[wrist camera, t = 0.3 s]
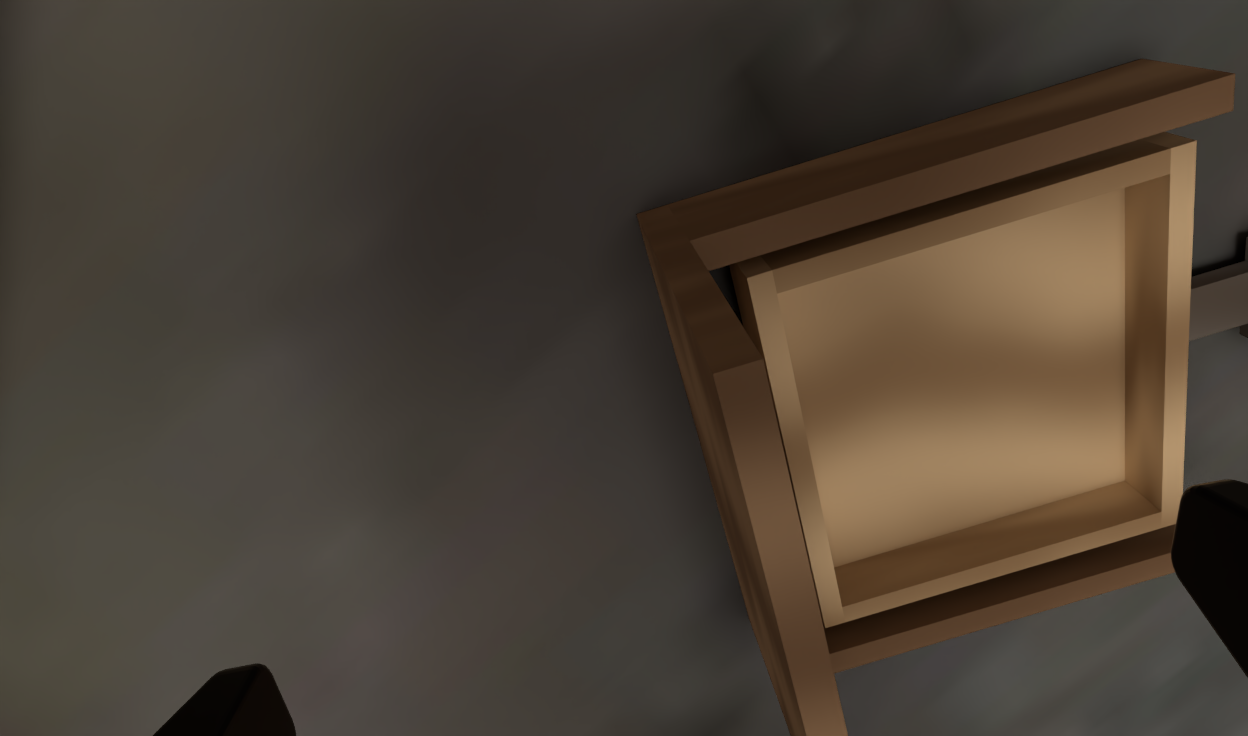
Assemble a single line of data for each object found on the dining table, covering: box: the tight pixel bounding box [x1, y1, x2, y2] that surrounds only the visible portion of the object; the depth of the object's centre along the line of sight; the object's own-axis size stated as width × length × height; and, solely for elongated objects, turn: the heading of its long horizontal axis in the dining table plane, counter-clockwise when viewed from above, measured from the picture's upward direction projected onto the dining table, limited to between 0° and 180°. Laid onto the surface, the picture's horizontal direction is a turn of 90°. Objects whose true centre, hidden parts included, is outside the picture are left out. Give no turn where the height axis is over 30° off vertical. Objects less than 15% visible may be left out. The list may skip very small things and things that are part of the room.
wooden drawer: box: [729, 132, 1248, 628], centre depth 22 cm, size 11×17×4 cm, turn 106°
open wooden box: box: [636, 59, 1235, 736], centre depth 20 cm, size 14×13×9 cm
